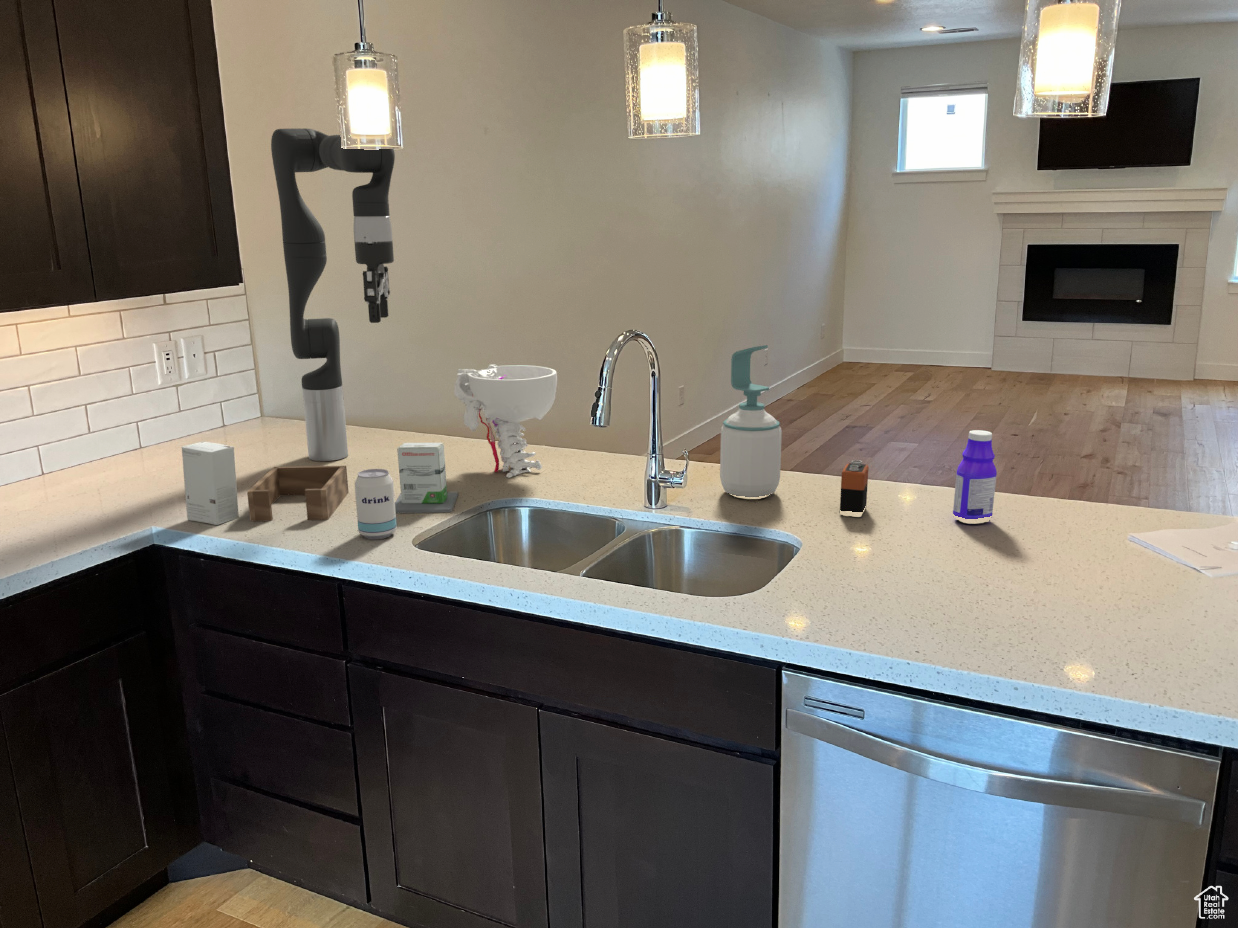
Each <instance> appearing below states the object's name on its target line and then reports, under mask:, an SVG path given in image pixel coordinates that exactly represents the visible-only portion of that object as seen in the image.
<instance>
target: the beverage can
mask: <svg viewBox="0 0 1238 928" xmlns="http://www.w3.org/2000/svg"><path fill="white" fill-rule="evenodd" d="M394 486H395V485H394V480H393V478H392V476H391V475H390V471H389V470H387V469H383V468H370V469H364V470H360V471H359V472H358V473H357V477H356V479H355V481H354V491H355V492H354V493H355V506H356V517H357V518H356V519H357V529H358V530H357V531H358V533H359V534H360V535H361V536H364V538H366V539H369V540H382V539H386V538H389V537H390V536H392V534H393V533H395V532H396V530H397V529H398V528H397V513H396V512H395V502H396V500H395V487H394Z"/></svg>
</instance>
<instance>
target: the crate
mask: <svg viewBox="0 0 1238 928" xmlns="http://www.w3.org/2000/svg"><path fill="white" fill-rule="evenodd" d="M347 470H348V469H347V465H311V466H309V465H308V466H306V465H303V466H273V467H272V468H271V469H270V470H269V471H268V472H267V473H266V474H265V475H264V476H262V477H261V478H260V479H259V480H258V481H257V482H256V483H255V484H254V485H253V486H251V487H250V489H248V490H247V492H246V494H247V503H248V504H247V505H248V513H249V518H250V519H249V521H250V522H269V521H272V520H273V510H272V505H273V504H274V503H275V502H276V501H277V500H278V499H279V498H280V497H282V496H304V497H305V506H306V516H307V518H306V519H307V521H309V520H310V521H313V520H314V521H320V520H323V521H324V520H330V518H331V516H333V514H334V513H335V511H336V510H337V509H338V507H340V505H341V504H342V502H343V500H345V498H346V497H347V496H348V495H349V482H348V481H349V480H348V471H347Z"/></svg>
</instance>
